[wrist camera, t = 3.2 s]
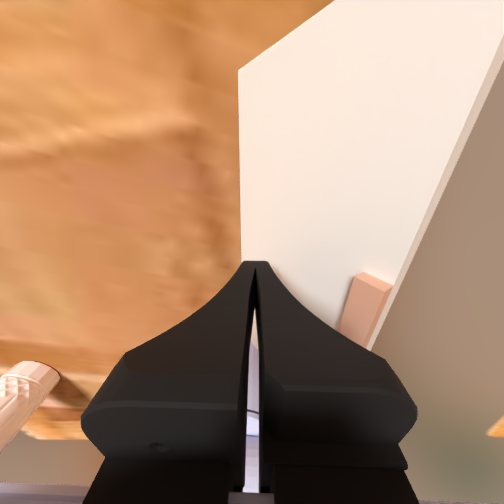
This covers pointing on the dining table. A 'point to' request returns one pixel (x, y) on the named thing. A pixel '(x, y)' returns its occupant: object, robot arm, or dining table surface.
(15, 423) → the white cup
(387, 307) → the duct lid
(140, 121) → the dining table surface
